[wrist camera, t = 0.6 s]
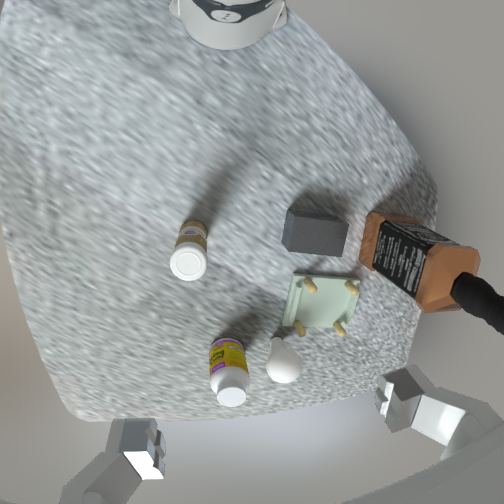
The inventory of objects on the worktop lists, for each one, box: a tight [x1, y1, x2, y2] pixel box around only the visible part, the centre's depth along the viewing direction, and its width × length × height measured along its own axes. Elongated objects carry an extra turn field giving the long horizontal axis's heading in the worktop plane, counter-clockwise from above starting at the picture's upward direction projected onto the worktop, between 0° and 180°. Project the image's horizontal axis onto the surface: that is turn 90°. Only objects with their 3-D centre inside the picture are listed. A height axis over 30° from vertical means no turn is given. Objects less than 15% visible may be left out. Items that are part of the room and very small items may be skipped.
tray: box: [282, 273, 360, 337], centre depth 55 cm, size 10×13×5 cm
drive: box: [282, 210, 349, 257], centre depth 50 cm, size 6×9×5 cm, turn 81°
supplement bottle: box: [209, 338, 250, 407], centre depth 52 cm, size 7×7×13 cm
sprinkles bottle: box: [170, 221, 207, 281], centre depth 43 cm, size 5×5×13 cm
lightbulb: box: [266, 337, 302, 383], centre depth 53 cm, size 6×6×11 cm
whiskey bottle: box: [359, 212, 504, 335], centre depth 40 cm, size 10×10×32 cm
